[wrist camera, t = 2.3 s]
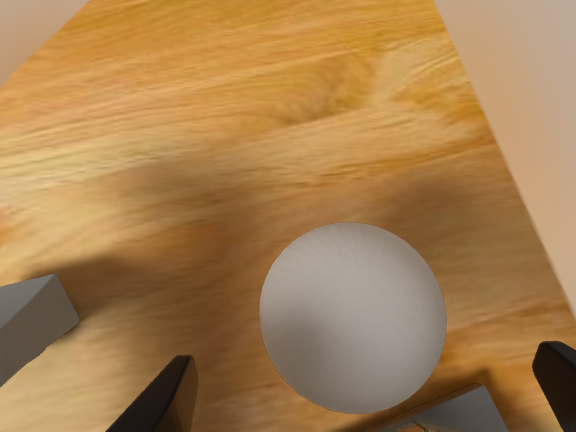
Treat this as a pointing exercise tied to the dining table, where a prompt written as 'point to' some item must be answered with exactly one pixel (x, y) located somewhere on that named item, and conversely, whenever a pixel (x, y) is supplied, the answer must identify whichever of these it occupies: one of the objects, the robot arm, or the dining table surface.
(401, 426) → the plate
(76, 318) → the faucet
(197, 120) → the dining table surface
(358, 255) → the light bulb
